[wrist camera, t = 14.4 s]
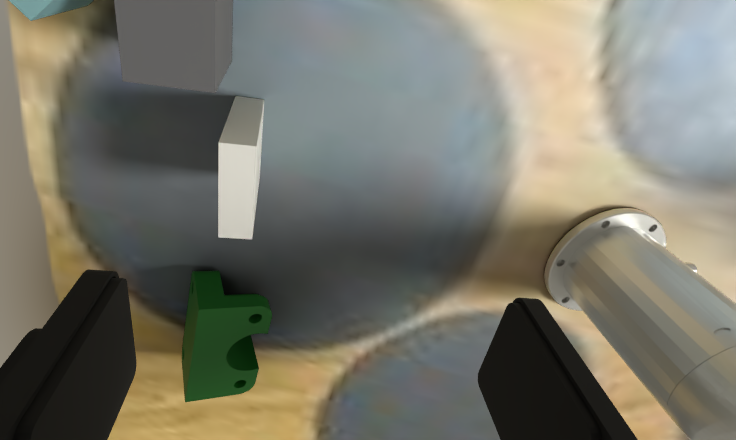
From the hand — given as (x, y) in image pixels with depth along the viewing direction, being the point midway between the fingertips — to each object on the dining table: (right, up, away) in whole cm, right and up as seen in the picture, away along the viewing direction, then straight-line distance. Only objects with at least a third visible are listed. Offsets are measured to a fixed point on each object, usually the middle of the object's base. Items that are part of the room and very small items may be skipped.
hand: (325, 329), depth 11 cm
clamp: (-13, -6, +31) cm, 34 cm away
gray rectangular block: (-10, +16, +17) cm, 26 cm away
